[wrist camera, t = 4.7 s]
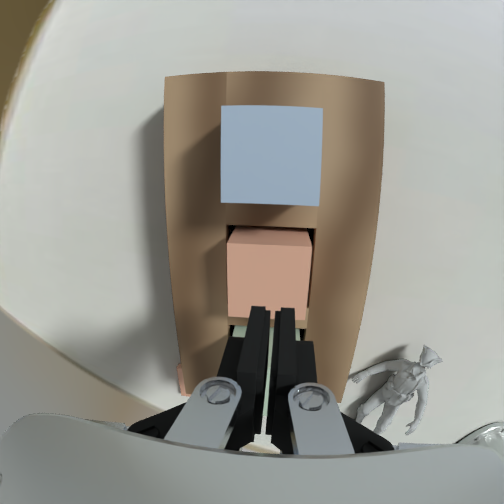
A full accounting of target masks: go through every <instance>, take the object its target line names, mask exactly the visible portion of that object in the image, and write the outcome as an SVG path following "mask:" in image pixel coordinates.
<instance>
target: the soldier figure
mask: <svg viewBox="0 0 504 504" xmlns="http://www.w3.org/2000/svg"><path fill="white" fill-rule="evenodd" d="M419 361H420V362H417V363H416V362H411V361H409V360H407V359H400V360H399V359H398V360H391V361H385V362H382V363H379V364H376V365H374V366H372V367H370V368H367V370H365V371H363V372H359V373H358V374H357V375H355V376H354V377H352V379H353V378H354V379H353V380H352V381H354V380H355V379H356V380H355V381H354V382H356V381H357V382H356V383H358V382H360V381H361V380H363V379H364V378H365V377H367V376H368V375H373V374H376V373H379V372H384V371H387V370H392V371H398V372H397V374H395V375H394V374H393V375H392V376H390V377H389V379H388V381H387V383H385V384H384V385H383V387H382V388H380V389H379V390H378V391H377V392H376V393H374V394H373V395H372V396H371V397H370V398H369V399H368V400H367V402H366V403H365V404H361V407H358V410H357V412H358V415H357V418H356V420H355V421H356V422H358V423H359V424H361V422H362V420H363V418H364V417H365V416H367V415H368V414H369V412H371V411H372V410H374V409H375V408H376V407H378V406H379V405H381V404H382V403H384V402H385V404H384V409H383V412H382V416H381V417H380V418H379V420H378V421H377V425H376V428H375V429H374V431H373V432H374V433H376V434H378V435H379V434H380V433H382V432H383V431H385V430H386V428H387V426H388V425H390V424H391V422H392V419H393V417H394V415H395V413H396V411H397V409H398V408H399V406H400V405H401V404H402V403H403V402H407V401H409V400H410V399H411V398H412V397H413V396H414V395H413V394H414V393H413V392H414V391H415V390H417V393H418V402H417V404H416V410H415V417H414V418H415V419H414V421H413V422H411V423H409V424H408V425H407V426H410V429H409V430H408V431H407V432H406V433H407V434H406V433H405V434H406V435H409V434H411V433H412V432H413V431H414V430H415V429H416V428H417V425H418V424H419V421H420V420H421V418H422V416H423V412H424V410H425V406H426V404H427V398H428V389H429V380H428V378H427V376H426V371H425V367H430V368H431V367H432V366H433V365H435V364H437V363H440V362H443V361H442V359H441V358H440V357H439V356H438V355H437V353H436V352H435V351H433V350H432V349H430V348H428V347H427V346H425V345H424V347H423V351H422V354H421V355H420V360H419ZM424 366H425V367H424ZM357 378H358V379H357ZM407 426H406V427H407Z"/></svg>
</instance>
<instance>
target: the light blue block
mask: <svg viewBox="0 0 504 504" xmlns="http://www.w3.org/2000/svg"><path fill="white" fill-rule="evenodd" d="M322 129H323V108H313V107H296V106H267V105H232V106H221V203H254V204H281V205H303V206H319V199H320V182H321V160H322Z"/></svg>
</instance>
